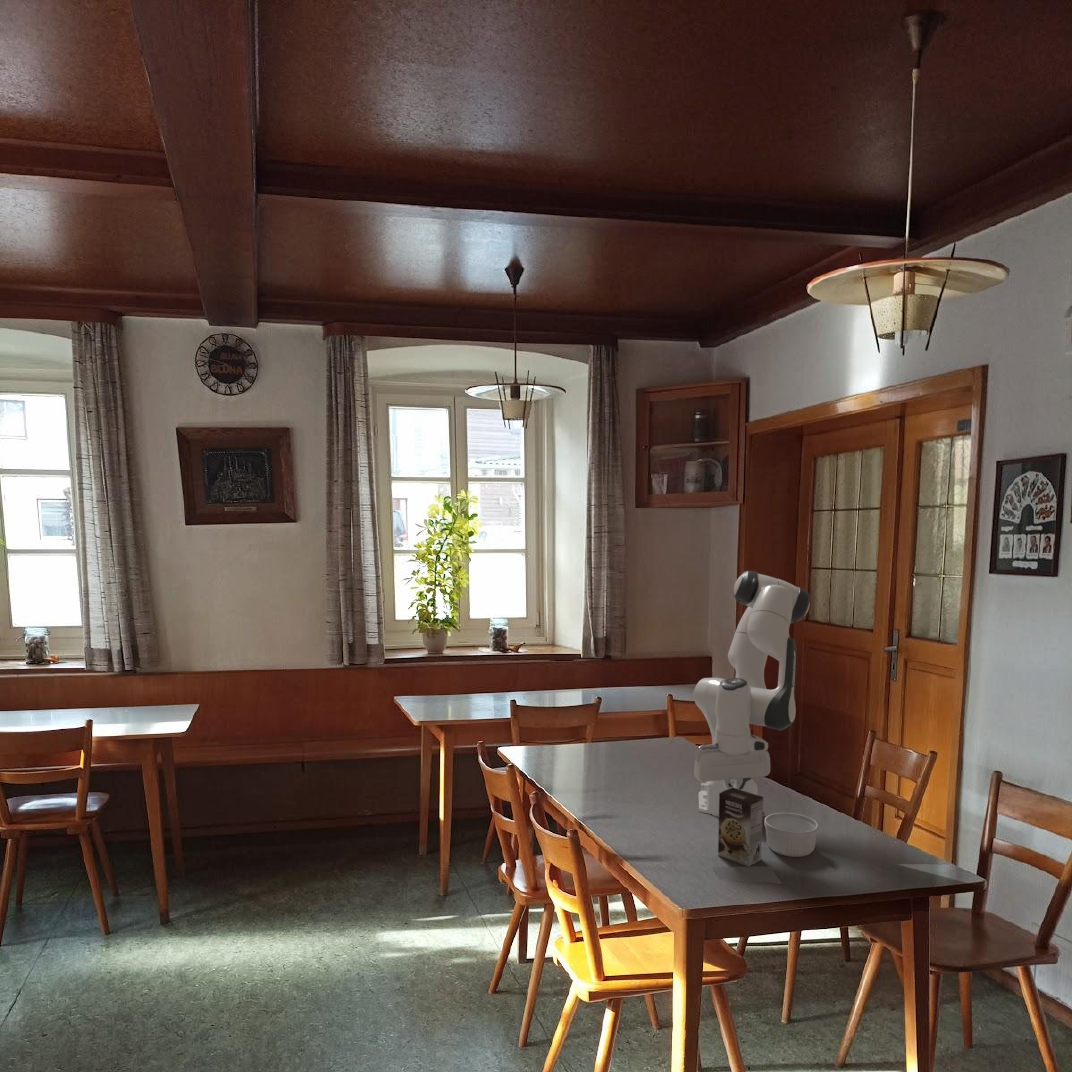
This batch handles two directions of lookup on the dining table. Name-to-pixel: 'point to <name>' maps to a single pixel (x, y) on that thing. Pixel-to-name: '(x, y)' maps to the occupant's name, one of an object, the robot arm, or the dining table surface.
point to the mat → (747, 874)
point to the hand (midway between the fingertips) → (731, 794)
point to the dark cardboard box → (740, 826)
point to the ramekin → (791, 834)
